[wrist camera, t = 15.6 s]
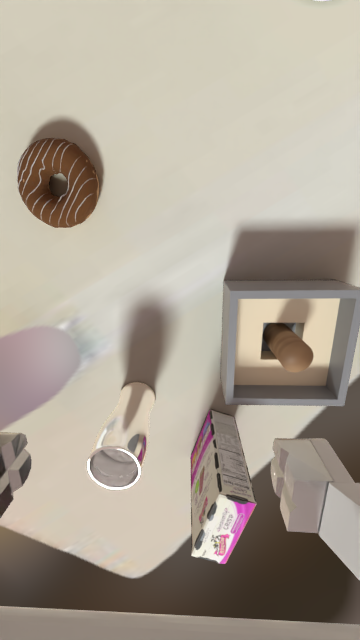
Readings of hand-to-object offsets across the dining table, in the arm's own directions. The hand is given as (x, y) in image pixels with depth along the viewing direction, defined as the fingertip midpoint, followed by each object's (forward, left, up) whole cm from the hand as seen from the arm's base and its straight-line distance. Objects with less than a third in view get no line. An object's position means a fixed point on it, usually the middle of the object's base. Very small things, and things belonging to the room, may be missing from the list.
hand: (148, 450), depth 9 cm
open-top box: (+8, +14, -33) cm, 37 cm away
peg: (+8, +14, -32) cm, 36 cm away
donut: (-13, -16, -34) cm, 39 cm away
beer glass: (+20, -8, -33) cm, 40 cm away
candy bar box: (+28, +5, -33) cm, 44 cm away
